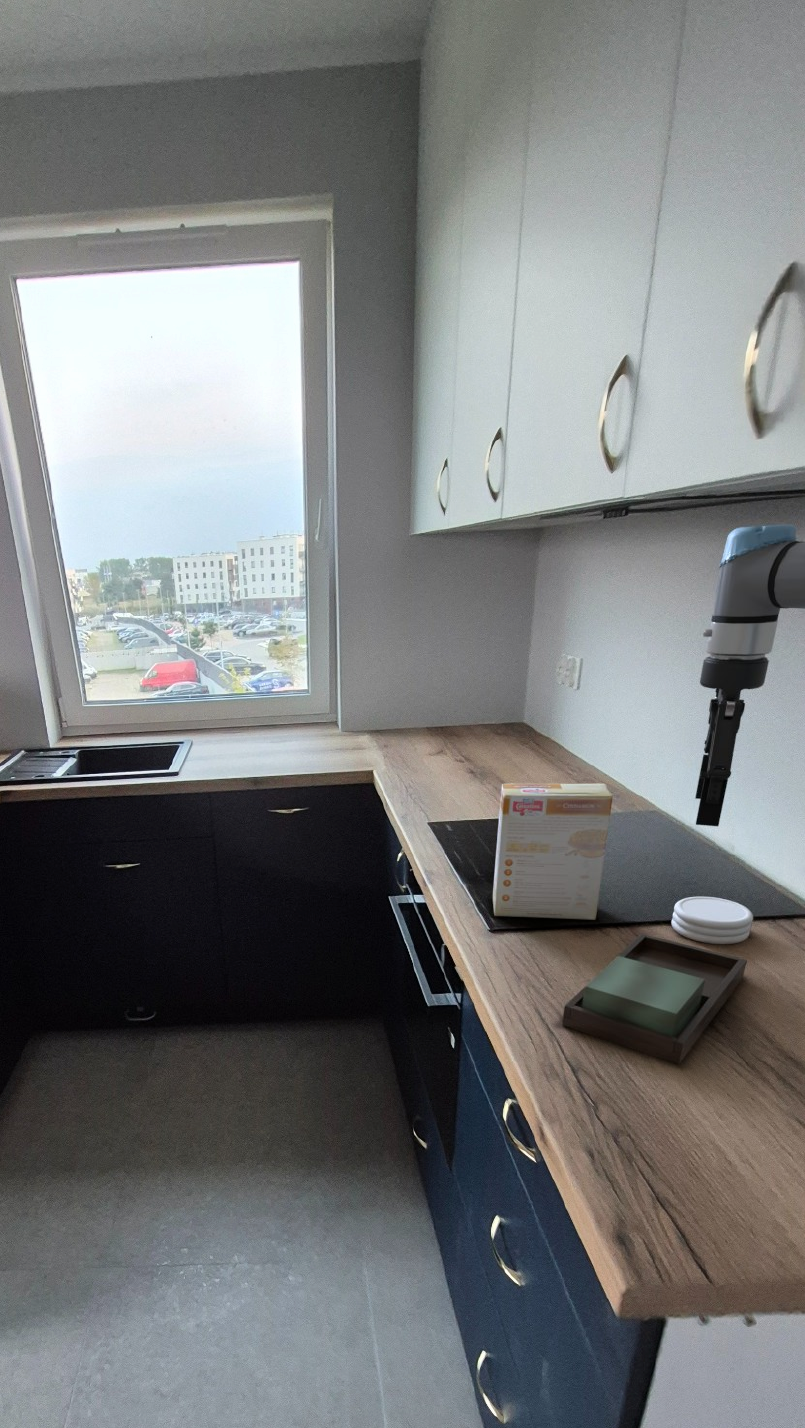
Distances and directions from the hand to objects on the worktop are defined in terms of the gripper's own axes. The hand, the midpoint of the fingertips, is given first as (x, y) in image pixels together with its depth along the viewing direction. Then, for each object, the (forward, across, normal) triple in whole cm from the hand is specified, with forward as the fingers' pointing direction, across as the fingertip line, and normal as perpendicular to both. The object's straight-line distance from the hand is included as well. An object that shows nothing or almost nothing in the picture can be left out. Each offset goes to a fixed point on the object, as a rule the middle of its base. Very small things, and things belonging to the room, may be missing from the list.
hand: (706, 811), depth 114 cm
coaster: (+16, +5, +3) cm, 17 cm away
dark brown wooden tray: (+16, +29, -3) cm, 34 cm away
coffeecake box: (+16, +5, -20) cm, 26 cm away
